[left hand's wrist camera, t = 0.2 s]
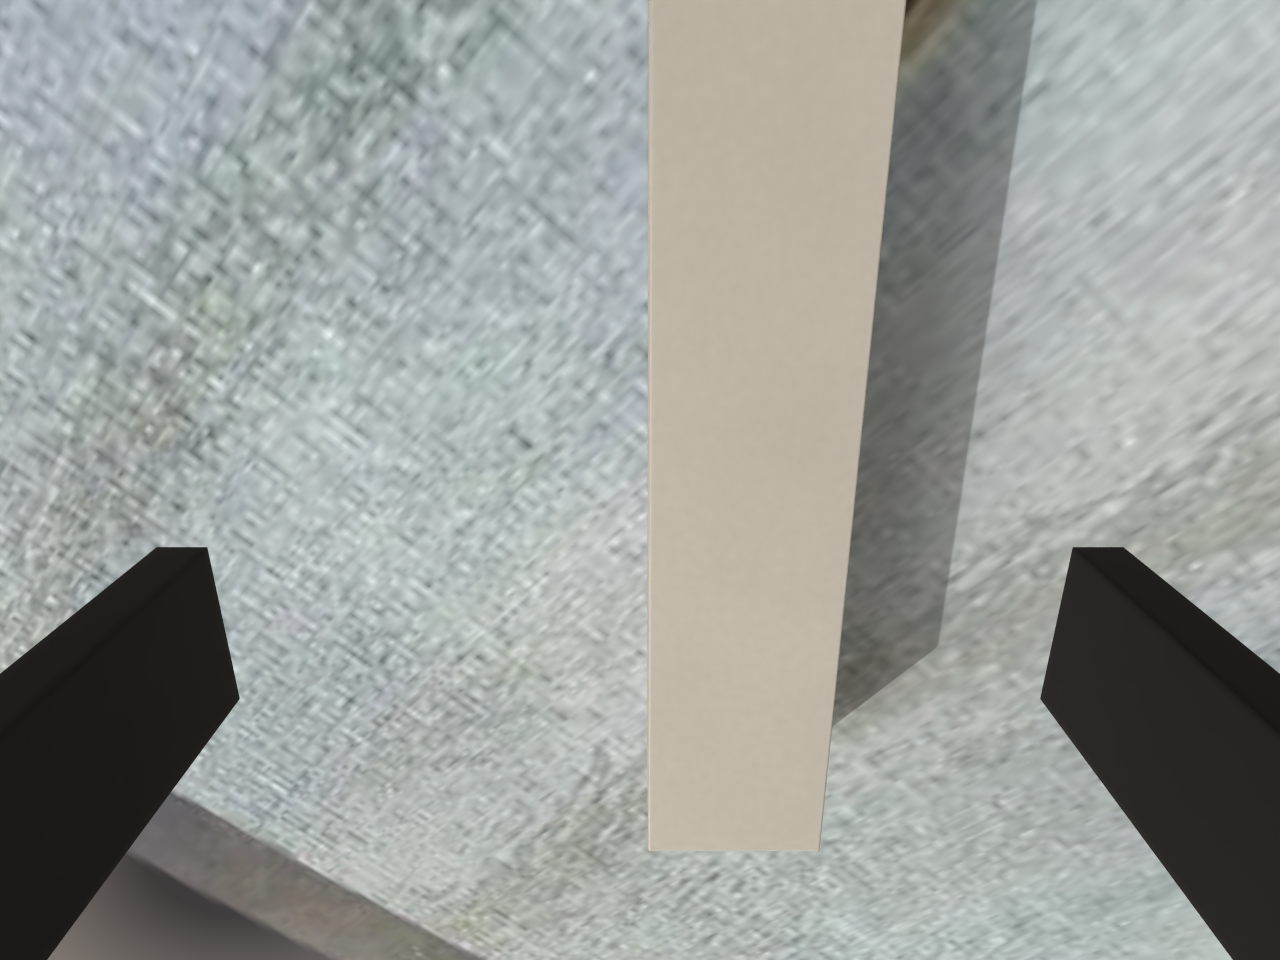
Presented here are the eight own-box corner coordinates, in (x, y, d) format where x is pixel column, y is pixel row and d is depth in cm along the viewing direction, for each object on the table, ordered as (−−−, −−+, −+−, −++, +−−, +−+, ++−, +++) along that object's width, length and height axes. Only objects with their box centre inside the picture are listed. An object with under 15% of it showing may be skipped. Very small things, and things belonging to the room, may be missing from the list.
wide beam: (649, -571, 27) (652, -798, 21) (905, -571, 27) (988, -799, 21) (647, 756, 48) (648, 851, 41) (795, 756, 48) (819, 851, 41)
